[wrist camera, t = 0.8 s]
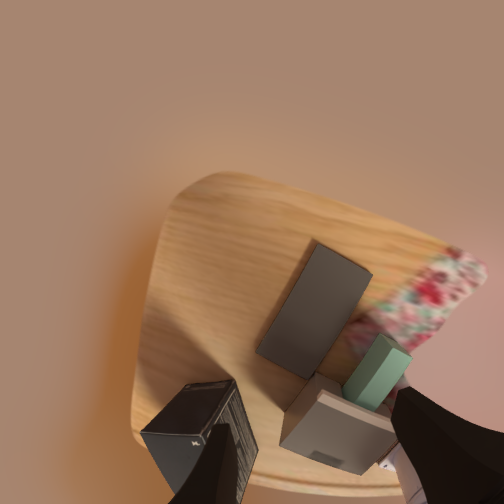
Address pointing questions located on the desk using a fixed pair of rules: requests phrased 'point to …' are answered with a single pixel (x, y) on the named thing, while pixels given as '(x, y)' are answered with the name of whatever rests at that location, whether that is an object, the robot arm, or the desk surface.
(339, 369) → the desk surface
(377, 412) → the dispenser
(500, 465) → the robot arm
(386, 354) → the green block
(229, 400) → the small box
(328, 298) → the mat
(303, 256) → the desk surface
